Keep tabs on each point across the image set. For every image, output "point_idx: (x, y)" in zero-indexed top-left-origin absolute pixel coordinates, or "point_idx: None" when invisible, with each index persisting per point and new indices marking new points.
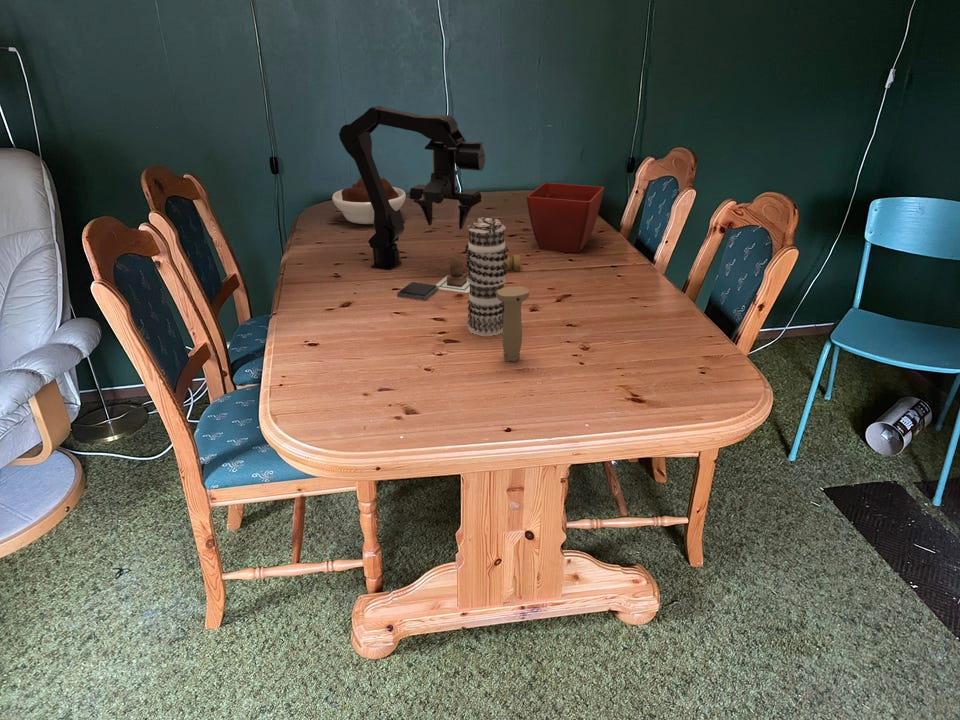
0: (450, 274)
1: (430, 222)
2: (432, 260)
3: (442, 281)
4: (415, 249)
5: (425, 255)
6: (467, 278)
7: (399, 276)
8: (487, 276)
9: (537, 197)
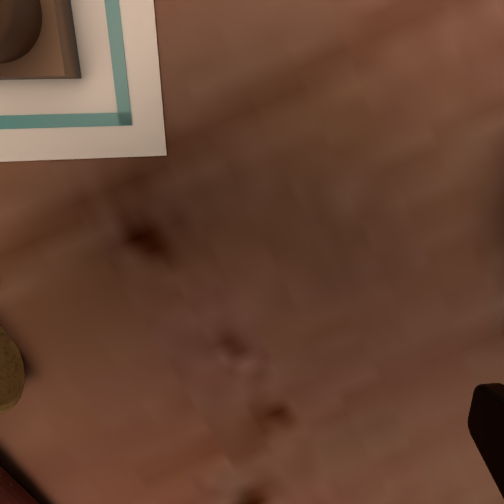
0: (48, 8)
1: (496, 426)
2: (363, 348)
3: (137, 26)
4: None
5: (425, 394)
6: (9, 151)
7: (455, 26)
8: None
9: None
